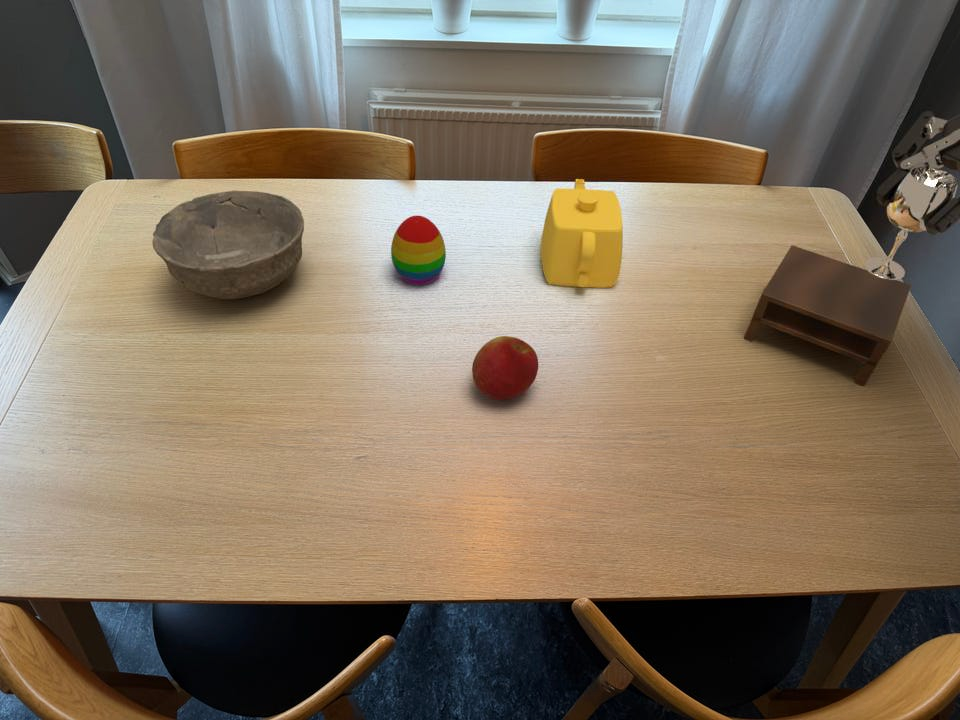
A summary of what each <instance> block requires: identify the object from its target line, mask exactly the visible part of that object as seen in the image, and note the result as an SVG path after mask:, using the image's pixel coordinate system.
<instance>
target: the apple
mask: <svg viewBox="0 0 960 720" xmlns="http://www.w3.org/2000/svg"><path fill="white" fill-rule="evenodd" d="M538 371H539V358H538V354H537V353H536V350H535V349H534V348H533V347H532V346H531V345H530V344H528V343H527V342H526V341H524V340H522V339H520V338H518V337H515V336H509V335H501V336H497V337H494V338H492V339H490V340H489V341H487V342H486V343H484V344H483V345H482V346H481V348H480V349H479V350H478V351H477V353H476V354H475V356H474V358H473V361H472V366H471V373H472V379H473V381H474V384H475V386H476V387H477V389H478V390H479V391H480V393H482V394H483V395H485V396H487V397H489V398H492V399H494V400H501V401H502V400H508V399H513V398H516V397H518V396H521V395H522V394H523V393H525V392H526V391H528V390H529V388H530V387H531V386H532V385H533V384H534V382H535V380H536V378H537V376H538Z"/></svg>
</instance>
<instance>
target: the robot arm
mask: <svg viewBox="0 0 960 720" xmlns="http://www.w3.org/2000/svg"><path fill="white" fill-rule="evenodd" d="M939 133H941V138H940V139H938V140H936V141H934V142H933V143H930V144H929V145H926V146H925V147H923V148H922V149H921V147H922V146H923V145H924V144H925V142H927V140H932V139H933V138H934V137H935V136H937V134H939ZM920 149H921V151H920V152H918V151H919V150H920ZM891 156H892V160H893V162H894V165H895V167H896V170H894V172H893V173H892V174H891V175H890V176H889V177H888V178H886V179H885V181H883V182H882V183H881V184H880V186H879V187H878V188H877V190H876V192H877V195H876V197H875V198H876V201H877V203H878V204H879V205H881V206H882V207H887V206H888V202H889V200H890V197H891V195H892V194H893V192H894V190H895V189H896V188H897V186H898V185H899V183H900V182H901V181H902V180H903V179H904V177H905V176H906V175H907V174H908V173H909V172H910V170H911V169H913V168H915V167H932V168H937V169H942V168H943V167H945V168H947V169H949V170H953V171H957V172H959V173H960V114H958V115H956V116H954V117H952V118H949V119H948V120H947V119H944V118H940V117H936V116H934V112H933V111H931V110H926V111H923V112H922V113H921V114H920V115H919V116H918V118H917V119H916V120H915V122H914V123H913V124H912V125H911V126H910V128H909V129H908V131H906V133H905V134H904V135H903V137H902V138H901V140H900V141H899V142H898V144H896V145H895V147H894V148H893V150H892V151H891ZM959 220H960V196H958V197H957V198H956V197H954V198H953V199H952V200H951V201H949V202H948V203H947V204H946V205H945V206H944V207H943V208H942V209H941V210H940V211H939V212H938V213H937V214H935V215H934V216H933V217H932V218H931V219H930V220H929V221H928V222H927V223H926V225H925V227H926V230H927V231H926V232H927V233H928V234H930V235H931V236H935V235H937V234H938V233H940V234H943V233H945V232H947V231H948V230H950V228H952V227H953V226H954V225H955V224H956V223H957V222H958V221H959Z"/></svg>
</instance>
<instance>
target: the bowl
mask: <svg viewBox="0 0 960 720" xmlns="http://www.w3.org/2000/svg"><path fill="white" fill-rule="evenodd" d="M304 231H305V219H304V217H303V213H302V211H301V209H300V208H299V206H297V205H296V204H294V203H293V201H291V200H290V199H289V198H287V197H285V196H283V195H279V194H273V193H270V192H265V191H255V190H227V191H222V192H215V193H209V194H205V195H201V196H197V197H194V198H193V199H191V200H187V201H184V202H182V203H180V204H177V206H175V207H173V208H172V209H170V210H169V211H167V213H165V214H164V215H162V217H161V218H160V220H159V222H158V223H157V224H156V226H155V229H154V231H153V233H152V236H153V238H152V241H151V242H152V248H153V250H154V252H155V253H156V254H157V255H158V256H159V257H160V258H161V259H162V261H164V263H165V264H166V266H167V270H168V272H169V274H170V276H171V277H172V278H173V279H174V280H175V281H176V282H177V283H179V284H180V285H181V286H183V287H185V288H187V289H189V290H190V291H192V292H195V293H197V294H201V295H204V296H206V297H212V298H217V299H221V300H238V299H239V300H240V299H243V298H249V297H252V296H255V295H260V294H263V293H265V292H268V291H269V290H271V289H272V288H274V287H276V286H279V285H280V284H281V283H283V281H284V280H286V279H287V278H288V277H289V275H291V274H292V272H293V271H294V269H296V267H298V265H299V263H300V261H301V260H302V258H303V257H302V256H303V241H302V240H303V234H304Z"/></svg>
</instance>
